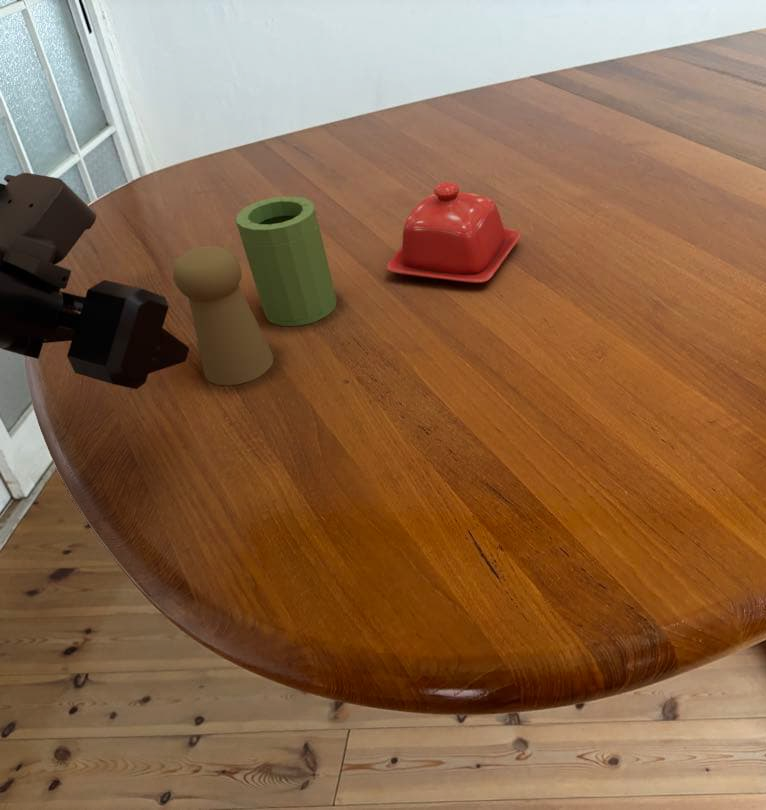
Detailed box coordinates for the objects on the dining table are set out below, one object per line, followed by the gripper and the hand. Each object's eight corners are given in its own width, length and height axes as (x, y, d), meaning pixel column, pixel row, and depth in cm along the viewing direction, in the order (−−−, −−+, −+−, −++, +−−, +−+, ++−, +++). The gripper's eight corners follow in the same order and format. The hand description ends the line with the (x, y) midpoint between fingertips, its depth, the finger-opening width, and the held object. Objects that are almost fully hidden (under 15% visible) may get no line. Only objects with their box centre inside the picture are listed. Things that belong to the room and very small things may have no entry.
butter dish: (487, 294, 80) (478, 213, 75) (382, 281, 83) (367, 203, 78) (526, 241, 89) (520, 165, 83) (429, 231, 92) (418, 157, 87)
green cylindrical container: (265, 332, 77) (235, 234, 71) (264, 296, 82) (236, 203, 76) (339, 318, 78) (316, 221, 72) (334, 284, 83) (311, 191, 77)
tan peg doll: (274, 341, 76) (240, 231, 69) (273, 377, 71) (238, 264, 64) (206, 353, 75) (165, 243, 68) (201, 391, 70) (157, 277, 63)
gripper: (84, 170, 45) (267, 260, 59) (-125, 135, 52) (85, 224, 66) (23, 365, 44) (223, 408, 59) (-181, 304, 51) (44, 356, 65)
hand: (140, 342), depth 62 cm, fingers open, 9 cm apart
